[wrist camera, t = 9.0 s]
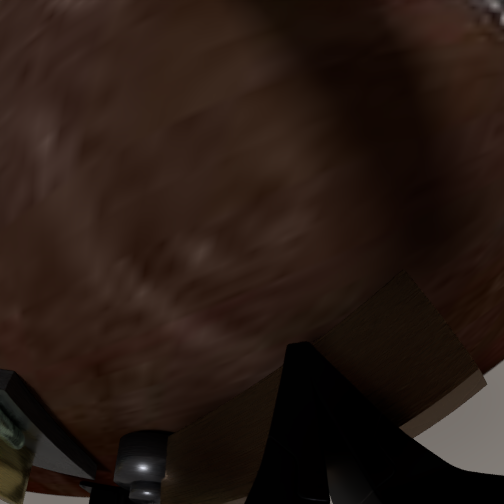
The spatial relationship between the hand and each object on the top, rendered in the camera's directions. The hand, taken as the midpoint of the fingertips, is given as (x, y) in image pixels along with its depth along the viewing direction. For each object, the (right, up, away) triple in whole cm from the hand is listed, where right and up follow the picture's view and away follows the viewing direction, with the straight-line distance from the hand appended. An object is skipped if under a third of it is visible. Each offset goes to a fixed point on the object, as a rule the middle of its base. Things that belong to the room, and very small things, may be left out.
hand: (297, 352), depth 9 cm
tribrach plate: (-20, -9, +6) cm, 23 cm away
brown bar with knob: (-2, -4, +5) cm, 7 cm away
